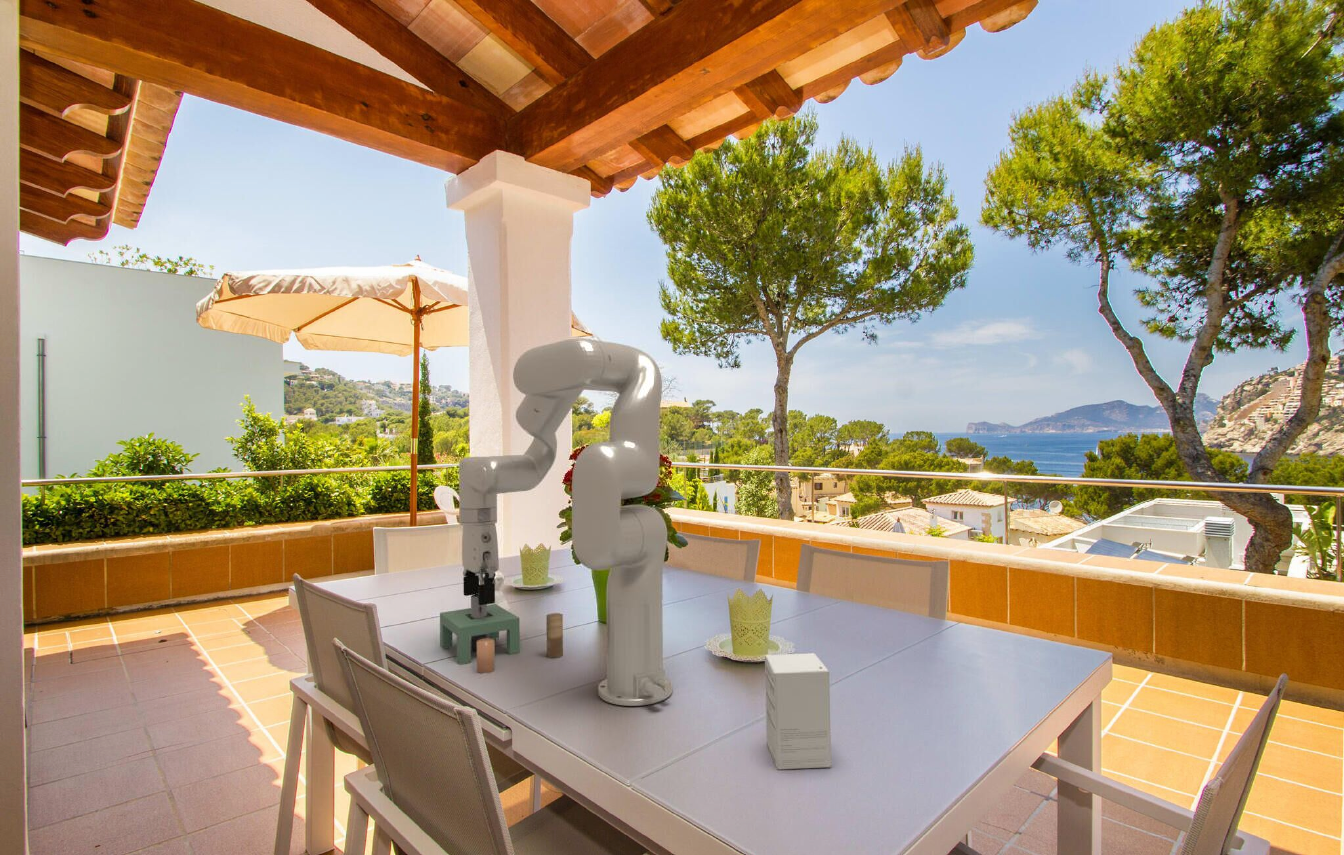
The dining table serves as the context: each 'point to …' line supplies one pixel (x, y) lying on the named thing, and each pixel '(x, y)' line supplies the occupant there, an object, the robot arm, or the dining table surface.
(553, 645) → the medium pin
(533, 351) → the robot arm
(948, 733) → the dining table surface
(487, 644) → the short pin
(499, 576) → the white creature statuette
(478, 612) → the long pin
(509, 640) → the hole bridge
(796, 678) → the supplement box
